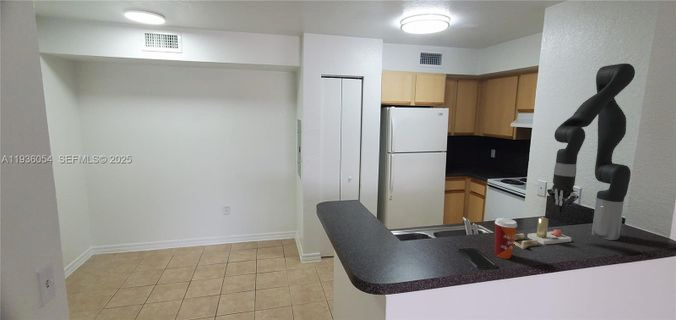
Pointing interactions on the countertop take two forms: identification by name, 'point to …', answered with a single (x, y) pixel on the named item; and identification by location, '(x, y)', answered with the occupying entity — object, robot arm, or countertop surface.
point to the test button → (557, 233)
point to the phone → (477, 258)
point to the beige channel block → (524, 243)
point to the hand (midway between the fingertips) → (559, 213)
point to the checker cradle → (550, 238)
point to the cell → (542, 227)
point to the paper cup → (504, 237)
